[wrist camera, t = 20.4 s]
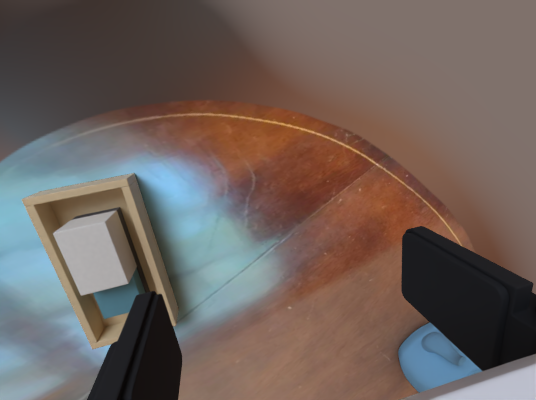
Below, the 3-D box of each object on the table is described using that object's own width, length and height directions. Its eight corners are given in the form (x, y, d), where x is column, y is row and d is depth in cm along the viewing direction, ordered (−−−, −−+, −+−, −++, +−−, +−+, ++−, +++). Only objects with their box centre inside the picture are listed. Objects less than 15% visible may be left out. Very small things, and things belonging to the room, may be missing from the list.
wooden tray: (39, 191, 29) (21, 199, 26) (134, 172, 30) (126, 178, 27) (102, 330, 34) (92, 349, 31) (178, 309, 36) (176, 325, 33)
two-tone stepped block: (75, 216, 29) (52, 233, 25) (120, 206, 30) (104, 221, 26) (113, 306, 33) (98, 335, 29) (152, 296, 34) (143, 322, 29)
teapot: (505, 334, 34) (530, 408, 41) (438, 286, 45) (466, 351, 51) (424, 390, 34) (461, 456, 40) (375, 329, 44) (411, 389, 50)
